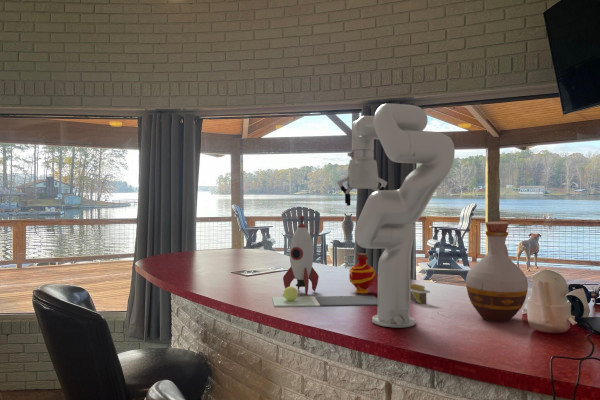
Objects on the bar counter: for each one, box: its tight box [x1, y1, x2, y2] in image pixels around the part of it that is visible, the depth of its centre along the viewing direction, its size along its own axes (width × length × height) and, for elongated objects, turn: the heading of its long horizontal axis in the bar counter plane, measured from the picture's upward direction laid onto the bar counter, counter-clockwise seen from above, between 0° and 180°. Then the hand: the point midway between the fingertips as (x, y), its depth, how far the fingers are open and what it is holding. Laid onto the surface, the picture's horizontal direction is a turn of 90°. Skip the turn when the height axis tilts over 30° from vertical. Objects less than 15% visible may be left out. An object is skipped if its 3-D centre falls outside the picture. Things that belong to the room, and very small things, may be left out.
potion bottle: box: [348, 252, 376, 294], centre depth 190 cm, size 10×10×15 cm
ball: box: [283, 285, 299, 301], centre depth 170 cm, size 5×5×5 cm
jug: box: [465, 221, 529, 323], centre depth 150 cm, size 20×18×30 cm
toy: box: [282, 215, 319, 297], centre depth 187 cm, size 11×11×30 cm
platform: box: [410, 283, 431, 305], centre depth 172 cm, size 12×18×7 cm, turn 29°
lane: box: [271, 295, 378, 308], centre depth 171 cm, size 14×38×1 cm, turn 96°
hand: (362, 205), depth 166 cm, fingers open, 9 cm apart
